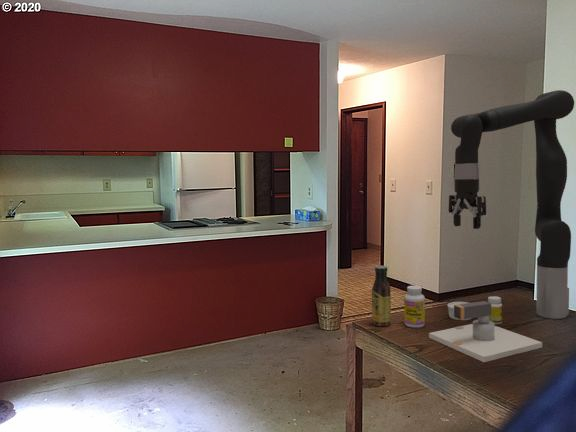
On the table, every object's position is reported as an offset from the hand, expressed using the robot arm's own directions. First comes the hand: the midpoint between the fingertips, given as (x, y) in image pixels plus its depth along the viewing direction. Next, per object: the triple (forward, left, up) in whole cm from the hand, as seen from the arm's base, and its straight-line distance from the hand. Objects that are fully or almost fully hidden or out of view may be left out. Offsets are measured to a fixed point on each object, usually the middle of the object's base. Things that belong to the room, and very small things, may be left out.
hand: (466, 227), depth 161 cm
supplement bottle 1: (+16, -7, -32) cm, 37 cm away
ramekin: (-3, -6, -32) cm, 33 cm away
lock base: (+9, +16, -32) cm, 37 cm away
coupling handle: (+13, +16, -26) cm, 33 cm away
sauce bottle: (+25, -13, -32) cm, 43 cm away
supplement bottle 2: (-8, +4, -32) cm, 34 cm away
